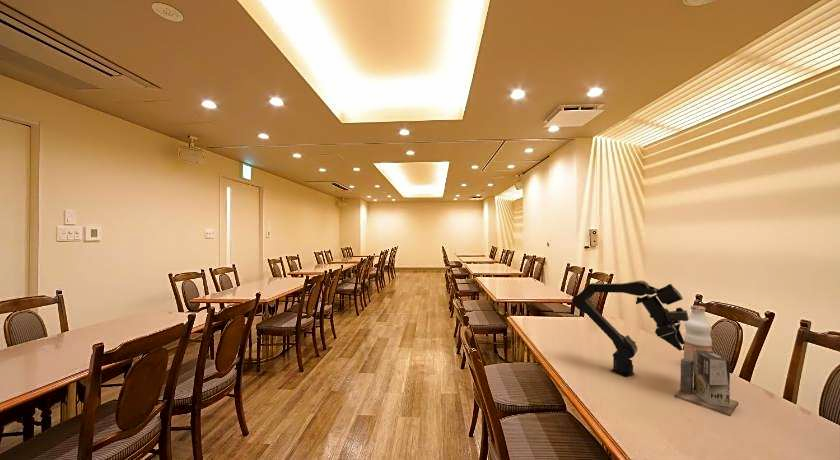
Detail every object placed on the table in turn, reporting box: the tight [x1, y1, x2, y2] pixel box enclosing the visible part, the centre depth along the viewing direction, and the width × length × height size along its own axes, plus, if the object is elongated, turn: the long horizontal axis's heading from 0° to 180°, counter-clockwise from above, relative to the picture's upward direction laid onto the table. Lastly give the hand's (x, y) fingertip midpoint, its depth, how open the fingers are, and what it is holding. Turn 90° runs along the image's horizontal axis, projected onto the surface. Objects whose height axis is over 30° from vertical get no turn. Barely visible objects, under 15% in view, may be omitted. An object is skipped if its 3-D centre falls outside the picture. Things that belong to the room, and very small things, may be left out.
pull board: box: [674, 357, 739, 417], centre depth 116 cm, size 15×13×13 cm
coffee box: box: [693, 351, 731, 407], centre depth 115 cm, size 9×6×16 cm
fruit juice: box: [683, 305, 713, 372], centre depth 143 cm, size 9×9×28 cm
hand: (682, 347), depth 124 cm, fingers open, 9 cm apart
